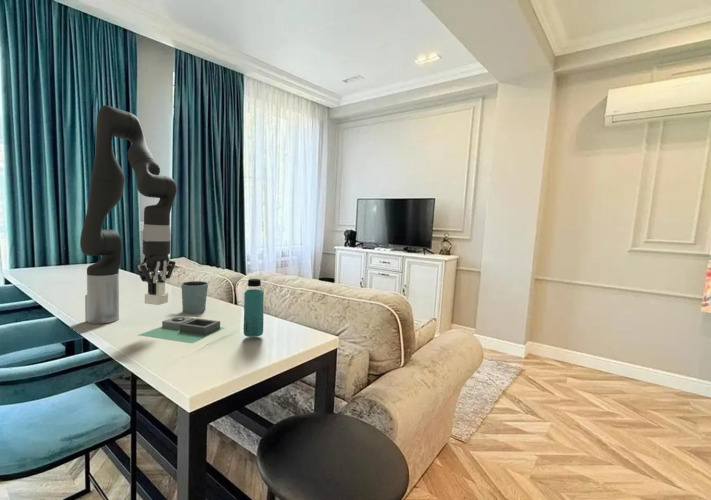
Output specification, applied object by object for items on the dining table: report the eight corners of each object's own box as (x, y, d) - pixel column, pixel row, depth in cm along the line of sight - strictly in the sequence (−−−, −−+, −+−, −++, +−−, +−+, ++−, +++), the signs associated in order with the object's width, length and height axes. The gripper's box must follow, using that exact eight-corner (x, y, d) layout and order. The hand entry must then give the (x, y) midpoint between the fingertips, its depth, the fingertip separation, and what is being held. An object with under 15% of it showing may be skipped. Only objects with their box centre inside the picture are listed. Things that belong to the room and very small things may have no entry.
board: (138, 339, 105) (138, 327, 105) (176, 325, 121) (176, 314, 120) (192, 348, 100) (192, 335, 100) (225, 332, 116) (225, 320, 116)
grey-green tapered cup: (191, 307, 145) (191, 280, 144) (212, 309, 144) (213, 282, 143) (175, 313, 135) (175, 284, 134) (198, 315, 134) (198, 286, 133)
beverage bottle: (267, 336, 113) (268, 278, 112) (255, 343, 107) (256, 281, 106) (251, 333, 115) (252, 276, 114) (238, 339, 109) (239, 279, 108)
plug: (144, 303, 105) (144, 283, 104) (155, 300, 109) (155, 281, 108) (160, 305, 103) (160, 284, 103) (170, 302, 107) (170, 282, 107)
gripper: (164, 237, 112) (163, 288, 114) (127, 239, 99) (127, 296, 100) (183, 239, 110) (182, 290, 112) (148, 240, 97) (147, 299, 98)
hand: (156, 293), depth 106 cm, fingers closed on plug, 2 cm apart
